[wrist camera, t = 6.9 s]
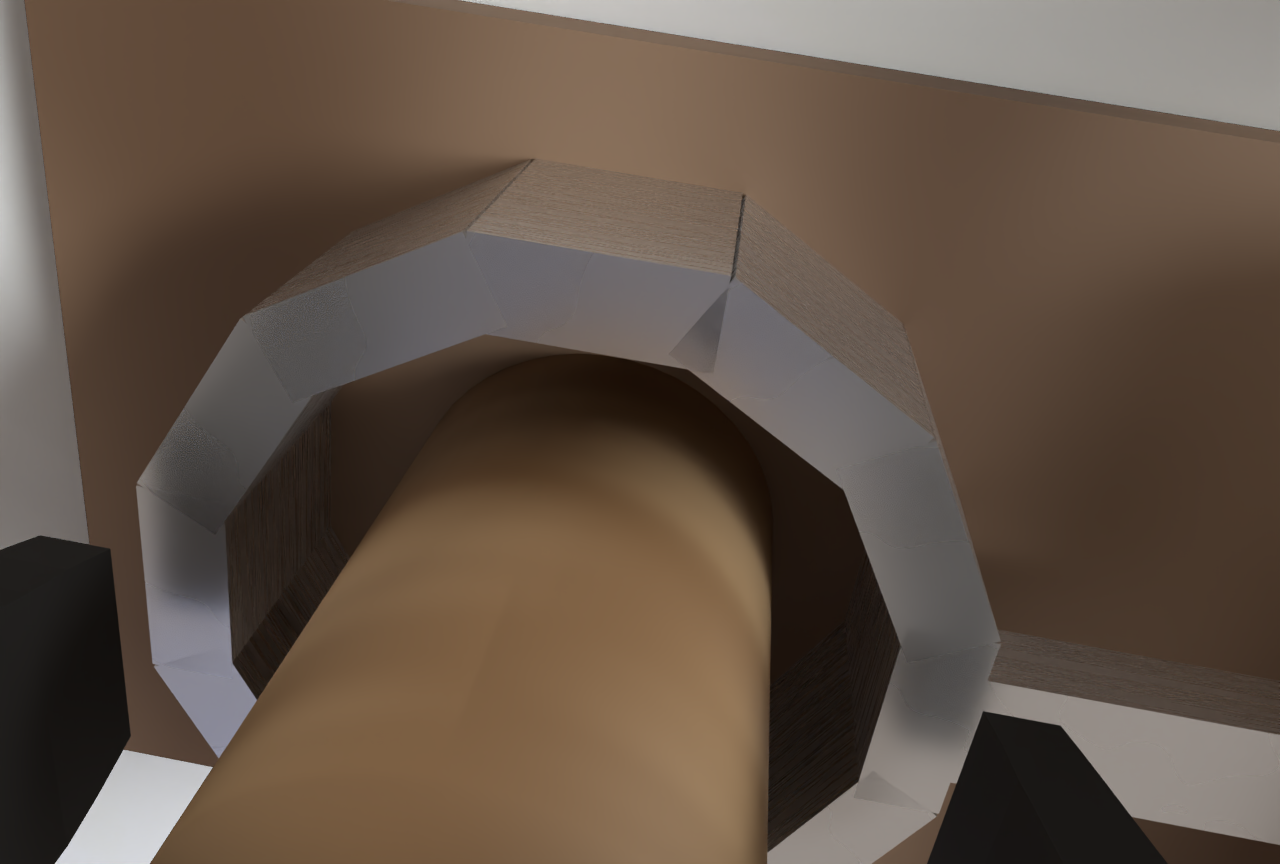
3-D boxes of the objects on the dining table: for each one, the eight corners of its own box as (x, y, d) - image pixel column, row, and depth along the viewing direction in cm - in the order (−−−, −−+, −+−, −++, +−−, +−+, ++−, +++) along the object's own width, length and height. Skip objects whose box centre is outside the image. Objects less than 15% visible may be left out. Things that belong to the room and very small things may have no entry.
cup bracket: (145, 707, 15) (-200, 1145, 10) (68, -62, 11) (-654, -20, 5) (1288, 928, 14) (1581, 1529, 9) (1733, 203, 10) (2837, 561, 5)
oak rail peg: (420, 639, 13) (169, 1153, 8) (412, 333, 11) (78, 727, 6) (749, 685, 13) (725, 1252, 7) (796, 376, 11) (809, 837, 6)
